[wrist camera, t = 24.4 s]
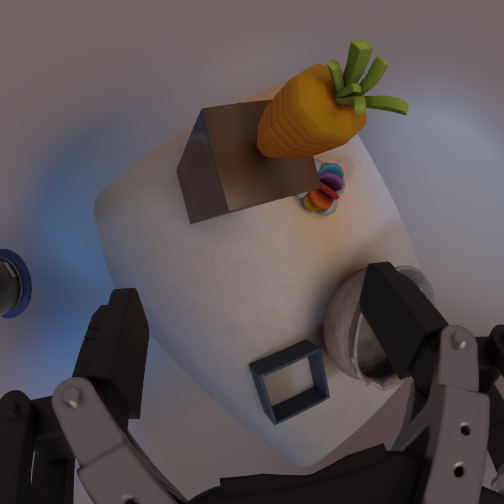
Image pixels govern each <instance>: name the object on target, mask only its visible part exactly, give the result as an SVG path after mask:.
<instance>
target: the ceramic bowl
mask: <svg viewBox="0 0 504 504" xmlns="http://www.w3.org/2000/svg"><path fill="white" fill-rule="evenodd" d="M366 269H367V267H365V268H363V269H360V270H358V271H357V272H355V273H354V274H352V275H351V276H350V277H349V278H348V279H346V280H345V281H344V282H343V284H341V285H340V286H339V288H338V289H337V290H336V291H335V293H334V294H333V296H332V297H331V299H330V301H329V303H328V306H327V309H326V312H325V318H324V326H323V331H324V342H325V347H326V349H327V352H328V354H329V356H330V358H331V360H332V361H333V362H334V363H335V364H336V366H337V367H338V368H339V369H340V370H341V371H343V372H344V373H345V374H347V375H348V376H350V377H352V378H355V379H357V380H360V381H361V382H362V383H363V385H365V386H368V385H370V384H369V383H371V384H372V385H373V386H375V387H377V388H378V389H380V390H382V391H384V390H389V389H392V388H394V387H396V386H398V385H399V384H400V383H402V382H403V381H404V380H405V379H406V378H404V379H401V380H400V379H399V377H398V376H397V374H396V372H395V370H394V368H393V366H392V365H391V363H390V361H389V359H388V357H387V356H386V354H385V352H384V350H383V348H382V347H381V345H380V343H379V341H378V340H377V338H376V336H375V335H374V333H373V331H372V329H371V328H370V326H369V324H368V323H367V321H366V319H365V318H364V316H363V314H362V312H361V309H360V303H359V300H360V294H361V290H362V286H363V282H364V277H365V273H366ZM396 270H397V271H398V272H399V273H402V274H403V275H405V276H407V277H408V278H410V279H411V280H413V281H414V283H415V284H416V285H417V286H418V287H419V288H420V291H422V292H423V293H424V294H425V296H426V297H427V299H429V300H430V302H431V303H432V304H433V305H434V307H435V308H436V304H435V299H434V294H433V290H432V288H431V285H430V283H429V282H428V280H427V279H426V277H425V276H424V275H423V273H422V272H421V271H420V270H418V269H416V268H414V267H412V266H400V267H396Z"/></svg>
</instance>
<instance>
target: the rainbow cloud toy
mask: <svg viewBox="0 0 504 504" xmlns="http://www.w3.org/2000/svg"><path fill="white" fill-rule="evenodd" d="M314 161H315V165H316V168H317V172H318V176H319V179H320V183H321V187H322V188H321V189H317V190H313V191H309V192H305V193H301V194H298V195H296V196H297V197H298V198H303V204H304V206H305V207H306V209H307V210H309V211H319V213H320V214H322V215H330V214H332V213H333V212H334V211H335V210H336V207H337V201H336V200H337V199H338V198H339V196H338V195H339V194H341V193H342V192H343V190H344V188H345V182H344V179H343V171H342V169H341V167H340V166H339V165H337V164H329V163H322V164H321V162H320V161H319V160H315V159H314Z"/></svg>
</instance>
